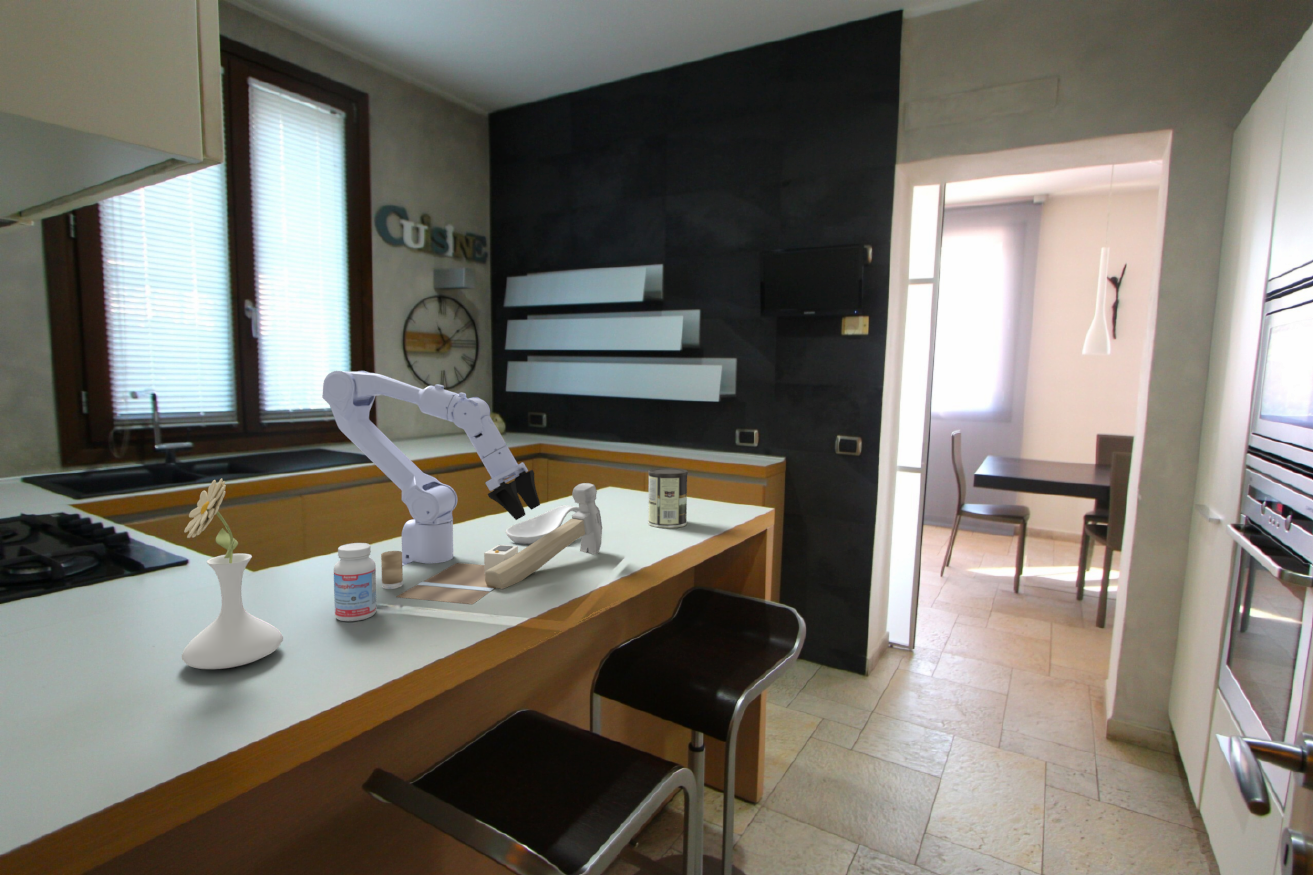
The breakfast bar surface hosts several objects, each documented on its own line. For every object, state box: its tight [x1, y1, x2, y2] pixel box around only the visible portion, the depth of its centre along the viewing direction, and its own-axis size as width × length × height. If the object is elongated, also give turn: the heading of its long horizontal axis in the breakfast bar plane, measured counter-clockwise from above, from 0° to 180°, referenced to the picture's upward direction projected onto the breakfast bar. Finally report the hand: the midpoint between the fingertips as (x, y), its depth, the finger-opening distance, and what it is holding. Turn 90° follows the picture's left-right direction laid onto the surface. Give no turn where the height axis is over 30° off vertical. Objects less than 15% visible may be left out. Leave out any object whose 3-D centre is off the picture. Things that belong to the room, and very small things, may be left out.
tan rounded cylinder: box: [380, 550, 404, 590], centre depth 112 cm, size 3×3×7 cm
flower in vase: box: [181, 478, 284, 670], centre depth 84 cm, size 13×11×25 cm
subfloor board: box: [395, 562, 496, 605], centre depth 115 cm, size 14×20×1 cm
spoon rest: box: [505, 504, 579, 545], centre depth 151 cm, size 24×12×7 cm, turn 144°
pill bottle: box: [333, 542, 377, 622], centre depth 101 cm, size 6×6×11 cm
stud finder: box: [483, 544, 519, 573], centre depth 121 cm, size 4×6×4 cm, turn 168°
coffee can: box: [647, 467, 689, 529], centre depth 167 cm, size 10×10×14 cm
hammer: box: [485, 482, 603, 590], centre depth 124 cm, size 16×5×30 cm
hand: (528, 512), depth 127 cm, fingers open, 7 cm apart
